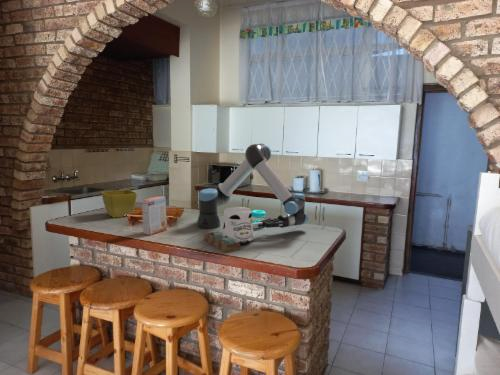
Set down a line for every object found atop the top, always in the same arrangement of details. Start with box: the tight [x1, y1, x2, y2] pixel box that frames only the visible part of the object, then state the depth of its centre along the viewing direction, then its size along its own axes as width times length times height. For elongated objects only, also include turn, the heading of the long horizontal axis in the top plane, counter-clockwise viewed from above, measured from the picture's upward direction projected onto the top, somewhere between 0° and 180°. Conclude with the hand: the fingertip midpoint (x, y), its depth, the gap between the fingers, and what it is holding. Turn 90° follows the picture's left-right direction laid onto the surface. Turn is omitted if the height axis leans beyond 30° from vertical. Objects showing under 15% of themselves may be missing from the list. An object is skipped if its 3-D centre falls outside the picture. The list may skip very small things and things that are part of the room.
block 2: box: [222, 237, 234, 245], centre depth 187 cm, size 4×4×4 cm
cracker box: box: [141, 195, 168, 236], centre depth 211 cm, size 14×6×21 cm, turn 149°
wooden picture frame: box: [203, 231, 241, 253], centre depth 191 cm, size 24×9×4 cm, turn 33°
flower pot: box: [101, 189, 138, 219], centre depth 252 cm, size 19×19×17 cm
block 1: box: [214, 231, 223, 241], centre depth 196 cm, size 4×4×4 cm
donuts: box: [252, 209, 267, 229], centre depth 228 cm, size 10×10×10 cm
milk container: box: [221, 206, 254, 245], centre depth 196 cm, size 17×17×18 cm
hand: (252, 225), depth 201 cm, fingers closed
